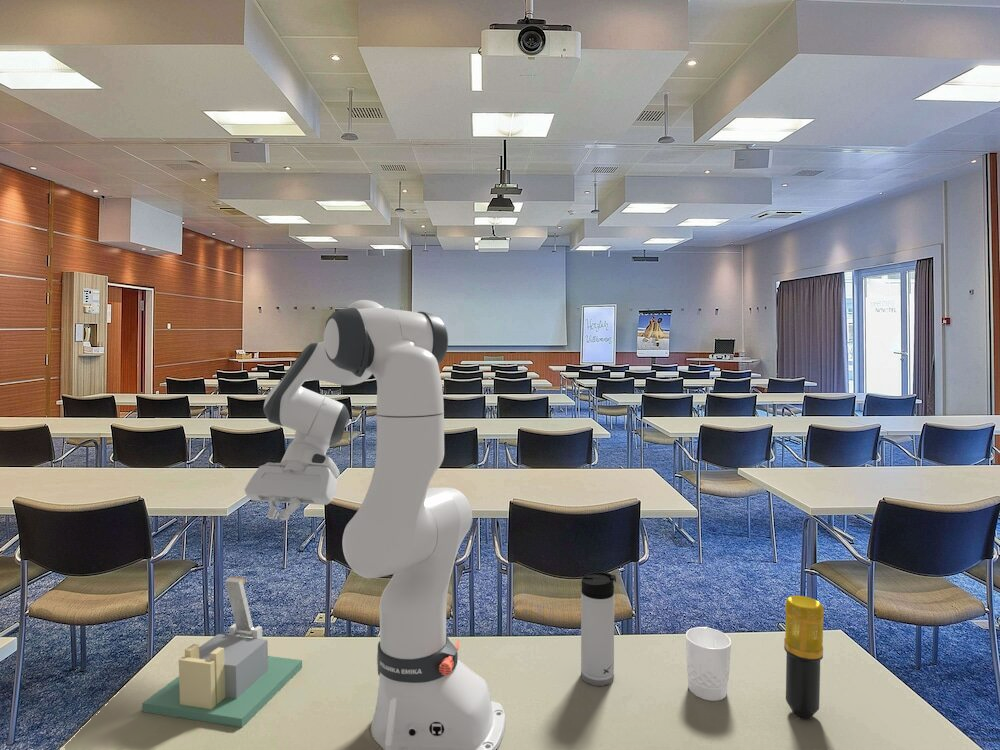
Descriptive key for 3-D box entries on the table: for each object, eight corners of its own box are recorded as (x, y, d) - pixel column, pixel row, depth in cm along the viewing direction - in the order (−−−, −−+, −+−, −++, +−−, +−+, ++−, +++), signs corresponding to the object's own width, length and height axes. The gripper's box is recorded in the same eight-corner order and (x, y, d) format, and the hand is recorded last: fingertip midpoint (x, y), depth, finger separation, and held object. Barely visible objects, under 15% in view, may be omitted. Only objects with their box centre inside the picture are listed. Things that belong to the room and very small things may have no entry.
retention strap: (252, 638, 108) (258, 631, 110) (239, 583, 104) (245, 577, 106) (235, 636, 109) (242, 629, 111) (222, 581, 105) (229, 575, 107)
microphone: (867, 718, 95) (870, 604, 94) (798, 727, 92) (801, 610, 92) (841, 697, 100) (844, 589, 99) (775, 705, 98) (777, 594, 97)
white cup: (736, 689, 103) (737, 636, 103) (720, 709, 97) (721, 654, 97) (695, 672, 108) (696, 622, 108) (677, 690, 103) (678, 638, 102)
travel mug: (615, 688, 103) (616, 583, 102) (580, 684, 105) (580, 580, 104) (615, 669, 109) (616, 570, 109) (581, 666, 111) (582, 567, 110)
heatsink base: (302, 667, 111) (301, 616, 110) (242, 727, 93) (240, 666, 93) (215, 656, 115) (214, 606, 114) (142, 711, 97) (140, 653, 97)
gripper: (255, 454, 128) (227, 508, 119) (336, 458, 123) (313, 514, 114) (268, 469, 132) (241, 522, 123) (346, 473, 128) (325, 528, 119)
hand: (277, 518), depth 119 cm, fingers closed
